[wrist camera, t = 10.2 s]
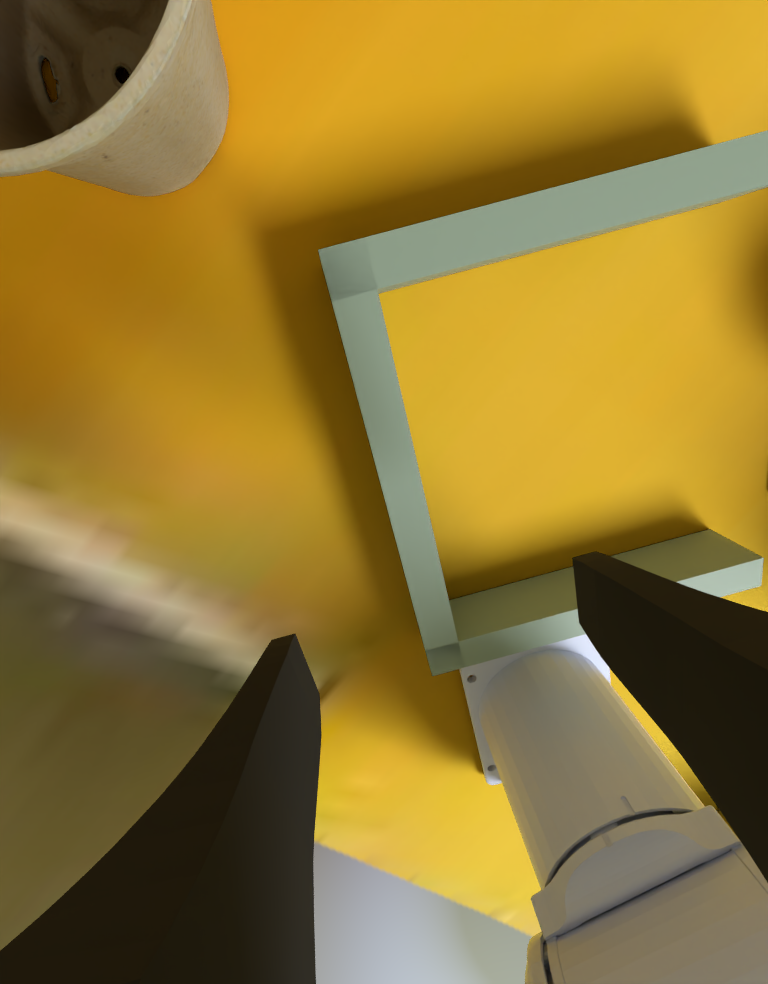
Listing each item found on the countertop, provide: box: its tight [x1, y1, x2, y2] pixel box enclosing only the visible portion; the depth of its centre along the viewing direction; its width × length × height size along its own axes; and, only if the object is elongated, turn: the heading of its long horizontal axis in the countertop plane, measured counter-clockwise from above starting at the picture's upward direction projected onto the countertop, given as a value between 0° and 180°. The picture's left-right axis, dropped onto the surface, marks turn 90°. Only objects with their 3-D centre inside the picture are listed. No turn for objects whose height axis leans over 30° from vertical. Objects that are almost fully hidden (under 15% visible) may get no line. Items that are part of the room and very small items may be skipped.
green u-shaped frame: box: [318, 131, 768, 676], centre depth 18 cm, size 18×16×3 cm
